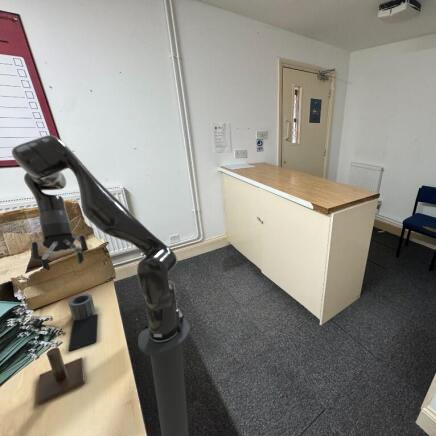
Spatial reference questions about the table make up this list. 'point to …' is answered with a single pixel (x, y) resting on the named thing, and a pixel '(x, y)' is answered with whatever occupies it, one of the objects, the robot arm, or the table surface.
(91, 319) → the smartphone
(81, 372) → the peg stand
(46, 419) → the table surface
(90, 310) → the grey ribbed hollow cylinder
